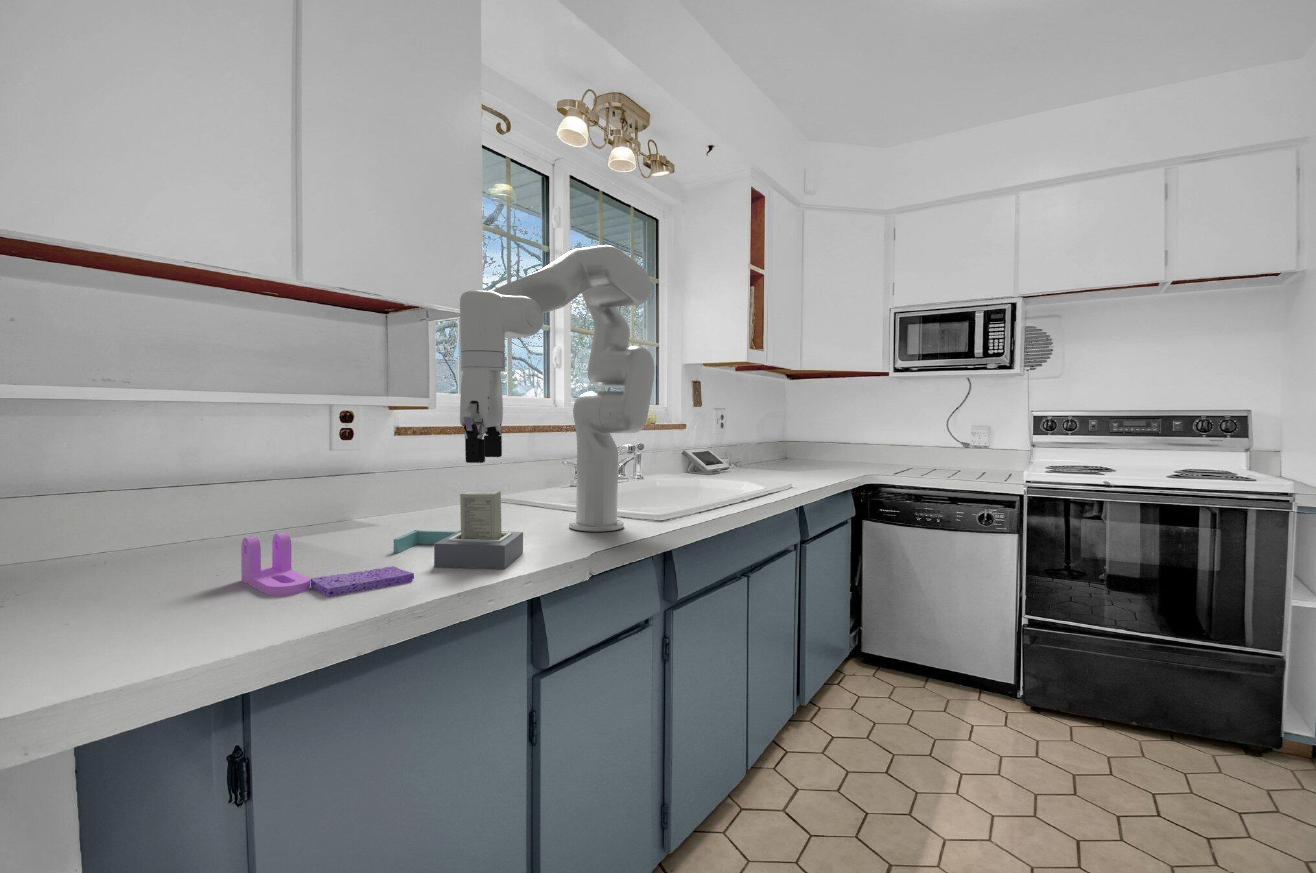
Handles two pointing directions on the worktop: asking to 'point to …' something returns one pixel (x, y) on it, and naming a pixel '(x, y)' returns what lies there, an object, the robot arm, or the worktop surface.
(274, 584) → the bracket
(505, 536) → the socket block
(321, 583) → the sponges
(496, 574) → the worktop surface
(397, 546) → the teal l-shaped piece
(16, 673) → the worktop surface
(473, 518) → the skincare box
